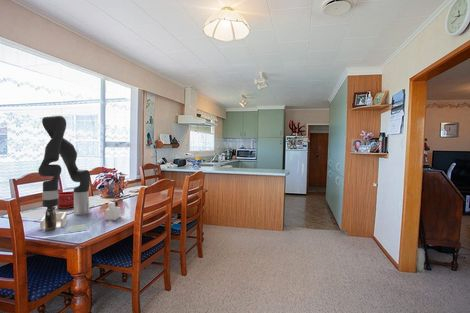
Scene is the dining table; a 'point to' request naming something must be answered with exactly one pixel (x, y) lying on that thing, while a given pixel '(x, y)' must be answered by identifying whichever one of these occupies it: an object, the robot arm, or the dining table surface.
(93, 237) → the dining table surface
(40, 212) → the dining table surface
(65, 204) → the plant pot
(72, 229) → the grey-green mat
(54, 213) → the walnut block
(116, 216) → the medicine bottle
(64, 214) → the cream curved tray
